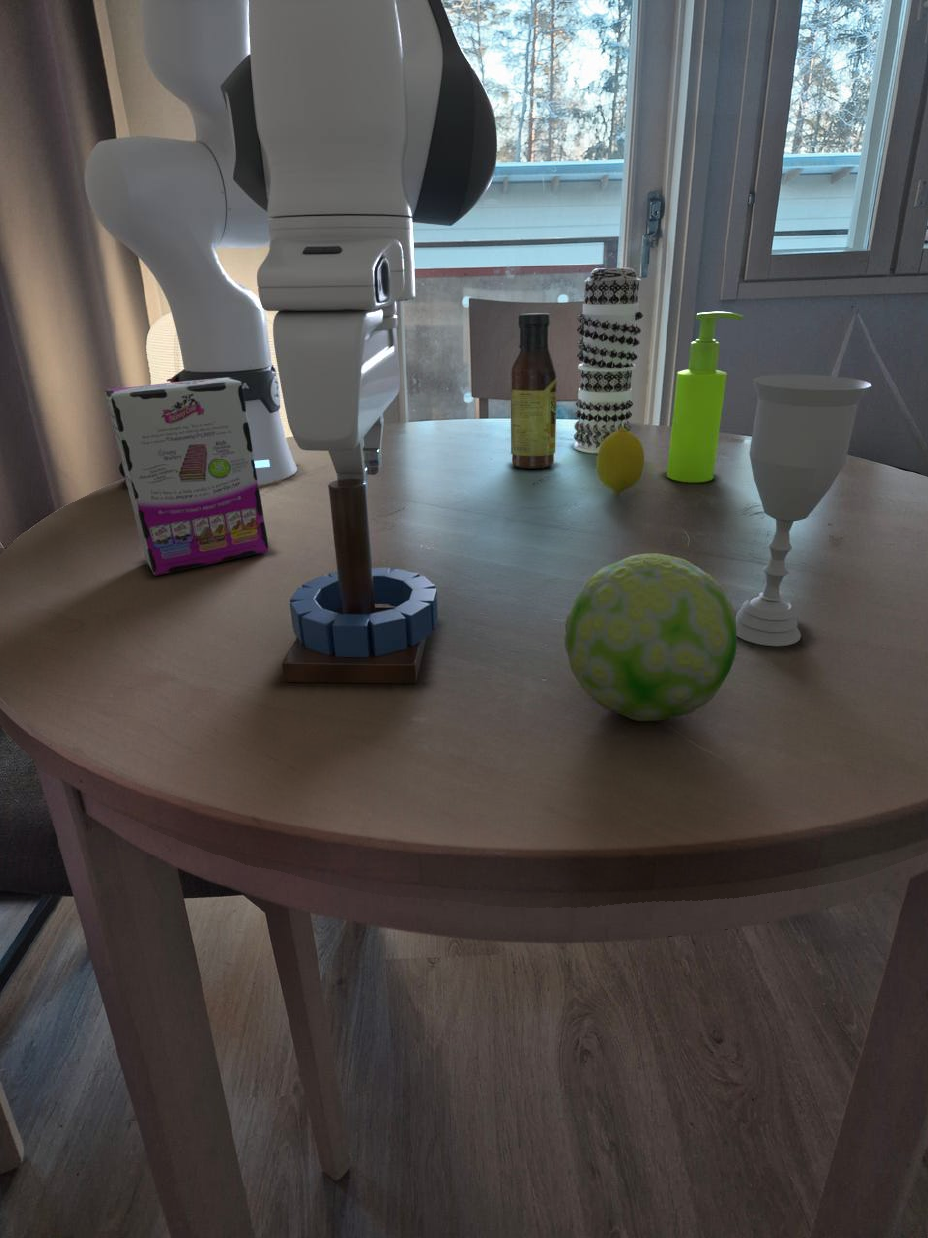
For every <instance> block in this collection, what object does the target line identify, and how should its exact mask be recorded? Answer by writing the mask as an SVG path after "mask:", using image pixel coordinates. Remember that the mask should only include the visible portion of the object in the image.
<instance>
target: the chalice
mask: <svg viewBox="0 0 928 1238" xmlns="http://www.w3.org/2000/svg"><path fill="white" fill-rule="evenodd" d="M752 383H753V386H754V389H755V392H756V395H757V402H756V409H755V416H754V422H753V428H752V435H751V442H750V448H749V454H748V455H749V459H750V464H751V471H752V477H753V481H754V484H755V487H756V490H757V493H758V496H759V499H760V502H761V505H762V508H763V511H764V514H765V515H766V516H768V517H771V518H772V519H773V520H775V532H774V535H773V537H772V540H771V541H770V542H769V543H768V544H767V546H768V548H769V550H770V559H769V562H768V564H766V566H763V567H762V571H763V573H764V574H765V580H766V585H765V587H764V589H763V591H762V592H760V593H759V595H754V596H751V597H750V598H748V599H747V600H745V601H744V602H743V603H742V605H741V608H740V609H739V610H738V611H737V612H736V613H735V618H736V635H737V638H740V639H741V640H744V641H746V642H748V643H752V644H756V645H760V646H768V647H785V646H790V645H794V644H796V643H797V642H799V641H800V640H801V637H802V634H801V632H800V629H799V628H798V625H799V622H798V620H797V617H796V611H795V609H794V607H793V606H792V604H791V602H789V601H788V600H786V599H784V598H783V596H782V595H781V593H780V585H781V583H782V581H783V579H784V577H786V576H787V575H789V573H790V572H789V570H788V569H787V568H786V563H785V559H786V557H787V555H788V553H789V552H790V551H791V550H792V549H793V546H792V545H791V542H790V541H791V540H790V539H791V538H790V531H791V529H792V526H793V524H794V522H798V521H802V520H803V521H804V520H805V519H807V518H808V517H809V516H810V514H811V513H812V512H813V511H814V510H815V508H816V507H817V506H818V505H819V503H820V502H821V501H822V499H823V498H824V497H825V495H826V494H827V493H828V492H829V491H830V490H831V488H832V486H833V484H835V483H834V482H835V481H836V479H837V478H838V476H839V474H840V473H841V471H842V469H843V468H844V466H845V464H846V462H847V456H848V452H849V449H850V448H849V447H850V443H851V438H852V433H853V429H854V424H855V419H856V415H857V410H858V405H859V402H860V401H862V398H863V397H864V396H865V394H866V393H868V391H869V389H870V388H871V387H872V384H871V382H868V381H866V380H861V379H856V378H850V377H842V376H833V375H831V376H830V375H821V374H820V375H819V374H818V375H817V374H771V375H762V376H756V377H754V378H753V379H752Z"/></svg>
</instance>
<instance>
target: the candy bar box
mask: <svg viewBox="0 0 928 1238" xmlns="http://www.w3.org/2000/svg"><path fill="white" fill-rule="evenodd" d="M104 395H105V400H106V404H107V408H108V411H109V412H108V413H109V415H110V420H111V424H112V427H113V432H114V436H115V441H116V443H117V449H118V452H119V457H120V461H121V462H122V465H123V469H124V473H125V478H124V479H125V483H126V482H127V485H126V487H127V486H128V487H127V490H128V495H129V498H130V503H131V506H132V510H133V514H134V519H135V522H136V527H137V531H138V535H139V540H140V543H141V547H142V552H143V553H144V554H143V555H144V559H145V561H146V563H147V565H148V566H149V569H150V570H151V571H152V574H153V575H154V576H161V575H167V574H171V573H176V572H181V571H185V570H191V569H195V568H200V567H204V566H208V565H214V564H218V563H219V564H220V563H223V562H228V561H231V560H237V559H241V558H246V557H250V556H255V555H259V554H265V553H267V552H269V551H270V548H269V542H268V535H267V529H266V522H265V517H264V511H263V505H262V498H261V493H260V492H261V491H260V485H258V479H257V474H256V468H255V462H254V455H253V449H252V442H251V436H250V429H249V424H248V418H247V413H246V405H245V399H244V393H243V388H242V382H240V381H237V380H235V379H232V378H231V377H227V378H216V379H205V380H193V381H183V382H173V383H170V382H166V383H155V384H147V385H146V384H145V385H138V386H127V387H118V388H107V389H104Z"/></svg>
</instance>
